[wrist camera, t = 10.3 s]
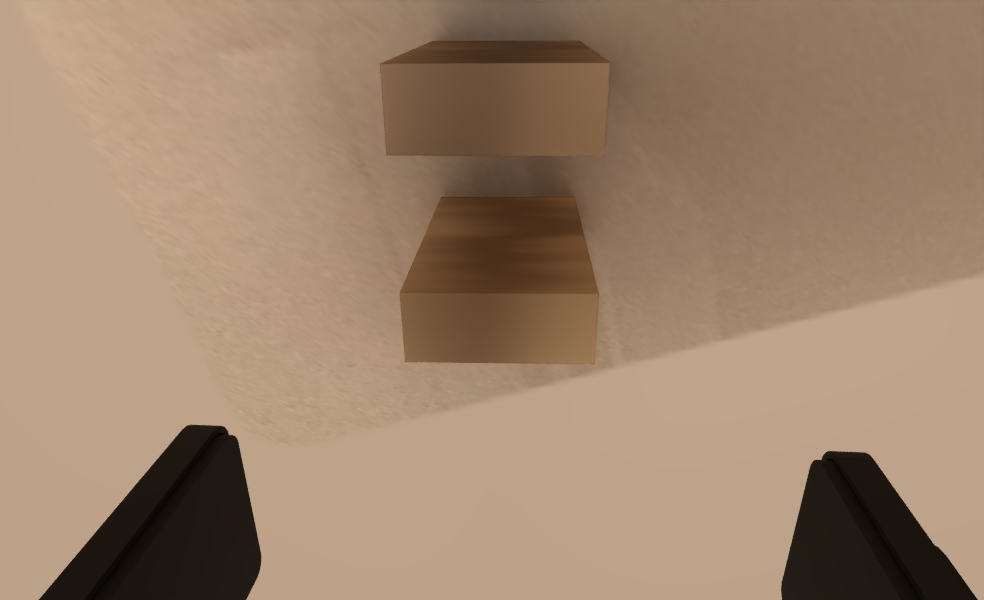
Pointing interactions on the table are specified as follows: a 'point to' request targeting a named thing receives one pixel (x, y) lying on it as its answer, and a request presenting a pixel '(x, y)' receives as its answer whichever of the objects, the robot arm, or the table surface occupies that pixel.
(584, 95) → the domino
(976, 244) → the table surface
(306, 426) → the table surface
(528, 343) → the domino
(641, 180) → the table surface
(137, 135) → the table surface
